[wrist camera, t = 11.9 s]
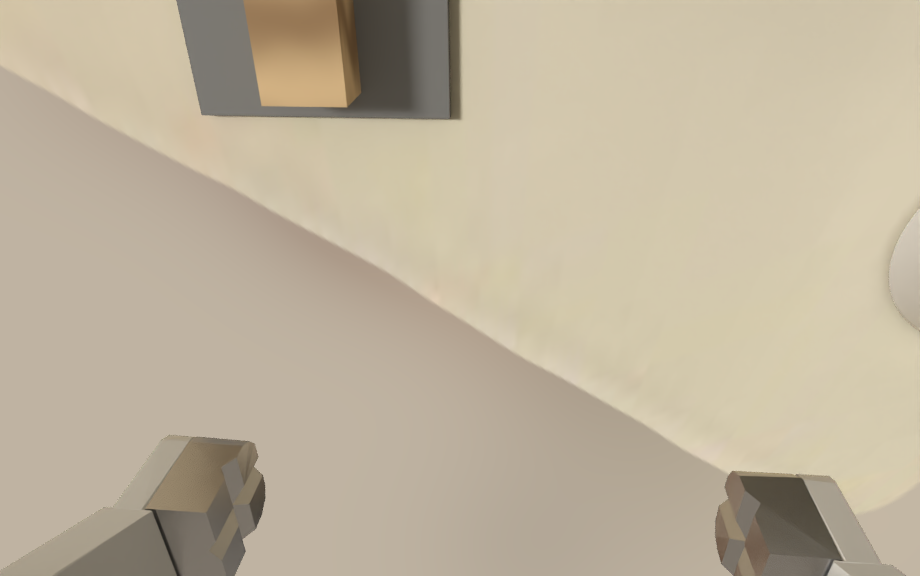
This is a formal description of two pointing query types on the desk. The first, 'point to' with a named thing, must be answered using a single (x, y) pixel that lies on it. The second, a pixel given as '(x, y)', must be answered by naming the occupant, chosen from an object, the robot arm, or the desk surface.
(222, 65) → the rubber mat
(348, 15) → the teal-topped wooden block
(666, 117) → the desk surface
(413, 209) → the desk surface
